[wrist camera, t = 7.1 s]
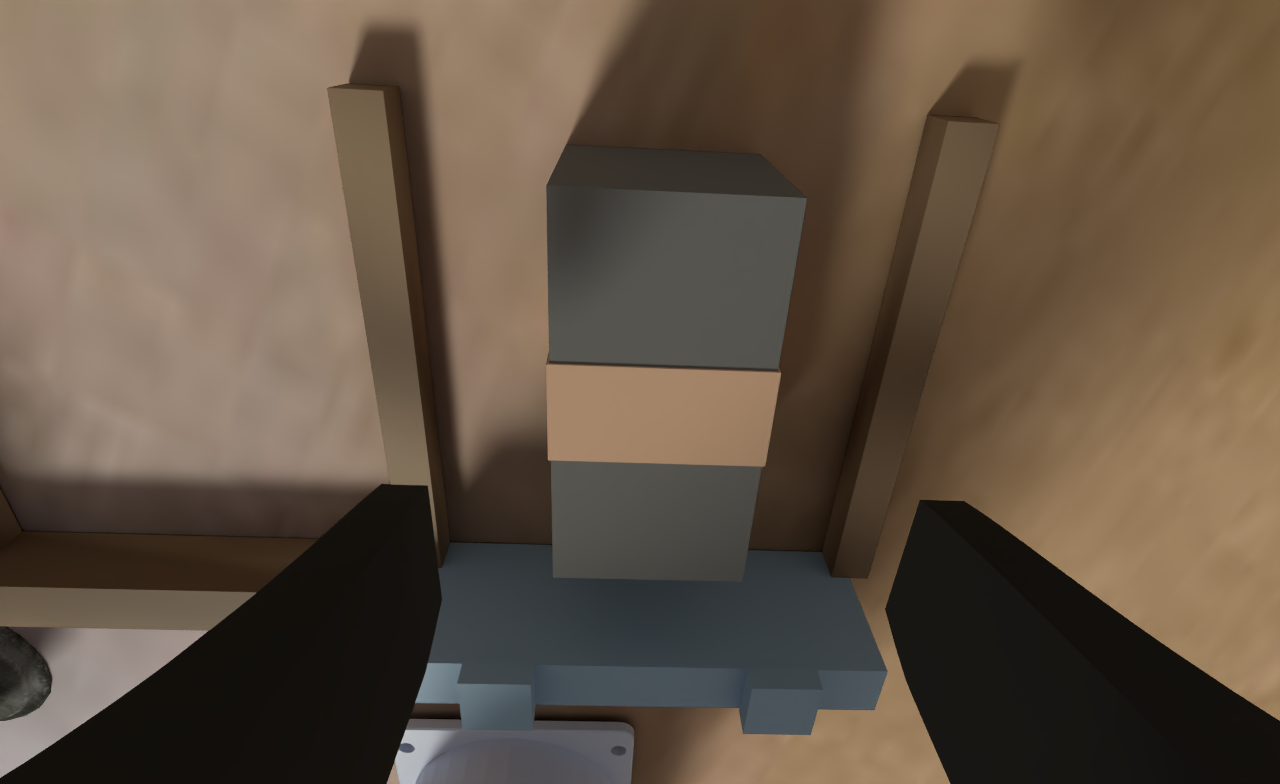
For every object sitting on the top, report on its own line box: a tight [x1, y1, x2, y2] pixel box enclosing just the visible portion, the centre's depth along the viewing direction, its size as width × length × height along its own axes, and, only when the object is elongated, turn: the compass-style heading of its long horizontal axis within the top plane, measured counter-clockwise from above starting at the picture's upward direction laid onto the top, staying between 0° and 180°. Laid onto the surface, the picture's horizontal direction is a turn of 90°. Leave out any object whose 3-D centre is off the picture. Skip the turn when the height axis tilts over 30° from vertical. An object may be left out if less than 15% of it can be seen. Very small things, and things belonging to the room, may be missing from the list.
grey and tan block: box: [546, 145, 807, 582], centre depth 14 cm, size 8×4×4 cm, turn 177°
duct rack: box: [0, 84, 1000, 735], centre depth 14 cm, size 13×24×5 cm, turn 87°
